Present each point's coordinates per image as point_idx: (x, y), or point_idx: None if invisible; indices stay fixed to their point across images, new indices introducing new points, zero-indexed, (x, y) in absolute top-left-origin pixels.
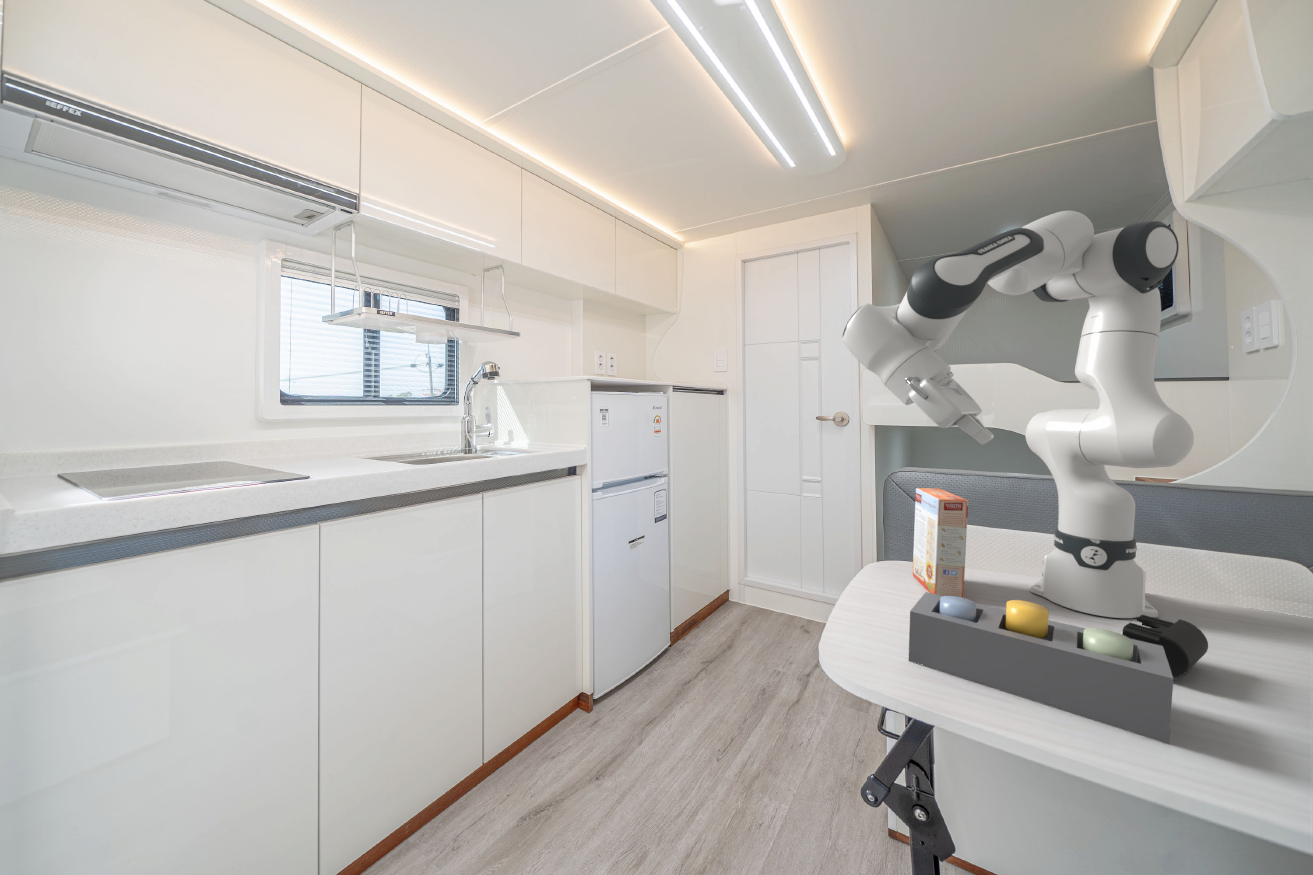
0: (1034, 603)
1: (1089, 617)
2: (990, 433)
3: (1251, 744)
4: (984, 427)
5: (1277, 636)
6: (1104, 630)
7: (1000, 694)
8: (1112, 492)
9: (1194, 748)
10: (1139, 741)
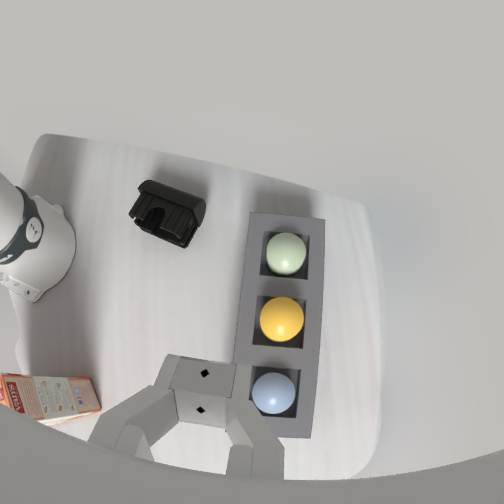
0: (263, 310)
1: (79, 258)
2: (190, 367)
3: (278, 197)
4: (168, 392)
5: (74, 146)
6: (270, 251)
7: None
8: None
9: None
10: (324, 258)
